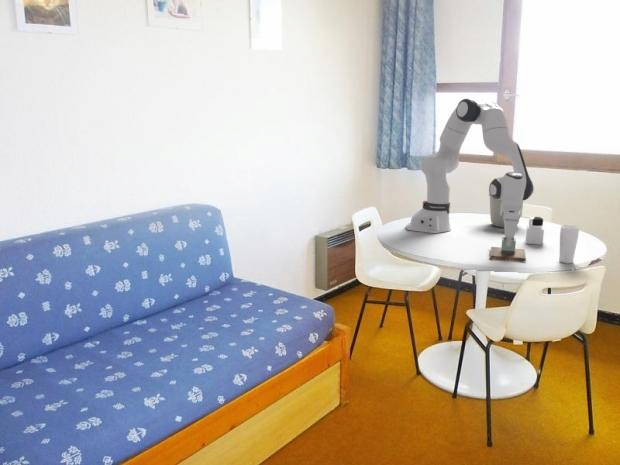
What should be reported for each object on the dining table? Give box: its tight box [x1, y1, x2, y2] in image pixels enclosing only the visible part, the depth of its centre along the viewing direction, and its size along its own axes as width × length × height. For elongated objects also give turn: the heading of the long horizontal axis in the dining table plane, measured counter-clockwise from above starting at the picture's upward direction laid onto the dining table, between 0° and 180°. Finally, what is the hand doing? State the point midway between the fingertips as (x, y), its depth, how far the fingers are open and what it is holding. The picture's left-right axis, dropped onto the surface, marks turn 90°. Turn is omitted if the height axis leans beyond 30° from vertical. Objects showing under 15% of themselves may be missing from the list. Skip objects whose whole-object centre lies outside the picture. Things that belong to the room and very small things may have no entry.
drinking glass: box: [558, 224, 580, 264], centre depth 231 cm, size 7×7×15 cm
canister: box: [488, 193, 524, 229], centre depth 291 cm, size 18×18×21 cm
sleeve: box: [501, 236, 517, 255], centre depth 241 cm, size 5×5×6 cm
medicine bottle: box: [525, 216, 545, 246], centre depth 260 cm, size 7×7×12 cm
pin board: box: [489, 246, 527, 262], centre depth 241 cm, size 14×14×6 cm
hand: (508, 242), depth 240 cm, fingers open, 8 cm apart
